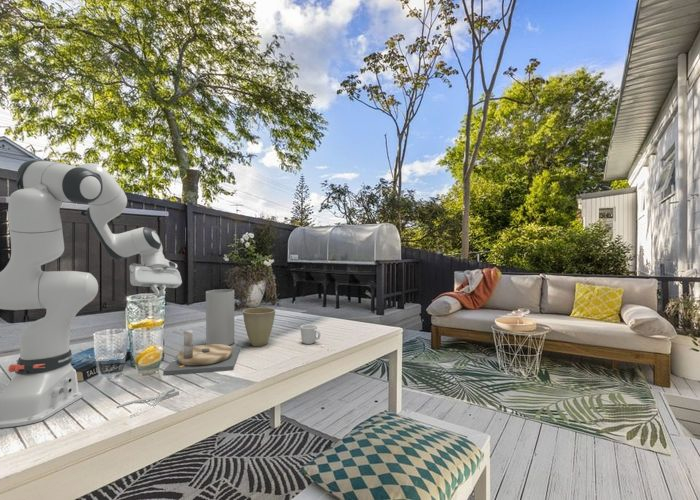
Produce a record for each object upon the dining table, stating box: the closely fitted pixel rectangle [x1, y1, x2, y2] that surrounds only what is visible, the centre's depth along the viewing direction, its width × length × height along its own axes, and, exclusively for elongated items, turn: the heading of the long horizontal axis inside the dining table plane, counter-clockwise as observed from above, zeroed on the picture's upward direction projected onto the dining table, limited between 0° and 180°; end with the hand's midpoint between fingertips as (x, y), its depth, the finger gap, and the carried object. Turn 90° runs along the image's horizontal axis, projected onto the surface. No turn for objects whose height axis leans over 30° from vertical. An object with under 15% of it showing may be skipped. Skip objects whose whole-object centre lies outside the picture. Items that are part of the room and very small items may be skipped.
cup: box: [299, 323, 321, 345], centre depth 160 cm, size 11×8×8 cm
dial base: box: [162, 346, 241, 376], centre depth 135 cm, size 24×24×2 cm
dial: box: [177, 329, 232, 365], centre depth 135 cm, size 20×20×12 cm
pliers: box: [116, 387, 180, 416], centre depth 101 cm, size 10×2×15 cm
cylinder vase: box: [205, 288, 235, 346], centre depth 159 cm, size 12×12×25 cm
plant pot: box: [242, 307, 276, 347], centre depth 159 cm, size 15×15×16 cm
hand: (160, 295), depth 136 cm, fingers closed
